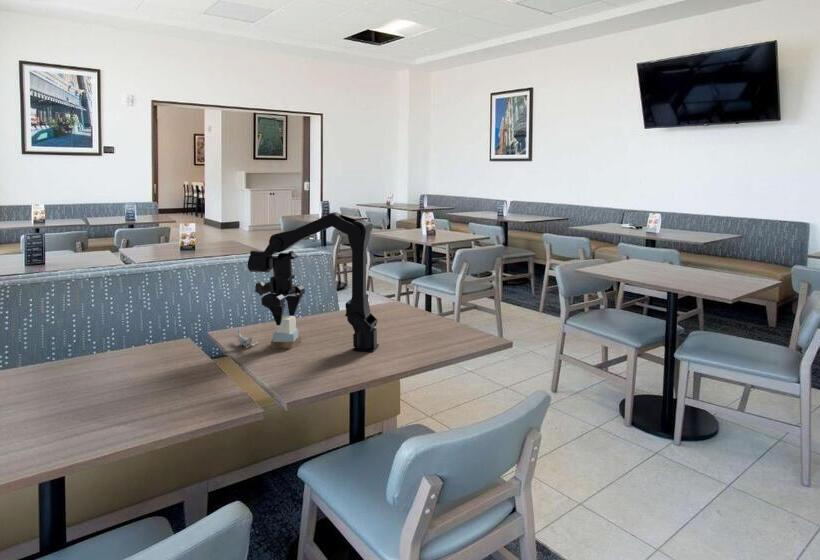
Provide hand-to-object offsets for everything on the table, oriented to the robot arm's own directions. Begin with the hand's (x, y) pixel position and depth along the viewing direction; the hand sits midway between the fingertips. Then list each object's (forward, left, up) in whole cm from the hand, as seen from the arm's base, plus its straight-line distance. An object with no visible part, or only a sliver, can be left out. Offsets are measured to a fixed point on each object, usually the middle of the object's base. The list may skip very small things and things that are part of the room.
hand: (285, 321), depth 184 cm
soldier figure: (+13, +3, -8) cm, 16 cm away
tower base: (0, 0, -8) cm, 8 cm away
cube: (0, 0, -3) cm, 3 cm away
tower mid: (0, 0, -6) cm, 6 cm away
